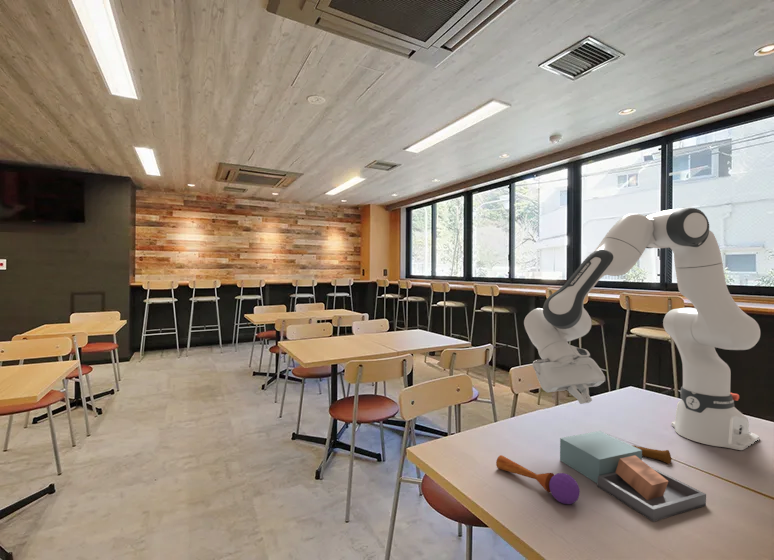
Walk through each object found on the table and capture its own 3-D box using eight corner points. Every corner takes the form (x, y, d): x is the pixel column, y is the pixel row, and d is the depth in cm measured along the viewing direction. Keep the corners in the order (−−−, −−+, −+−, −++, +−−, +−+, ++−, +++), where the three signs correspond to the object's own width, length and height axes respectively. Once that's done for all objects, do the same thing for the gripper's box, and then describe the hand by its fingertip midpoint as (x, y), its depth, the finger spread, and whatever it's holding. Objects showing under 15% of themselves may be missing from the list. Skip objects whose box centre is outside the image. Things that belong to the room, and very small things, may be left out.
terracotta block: (635, 455, 89) (668, 481, 82) (630, 469, 90) (663, 495, 83) (619, 458, 88) (652, 485, 80) (615, 472, 89) (647, 500, 82)
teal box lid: (599, 452, 104) (600, 430, 104) (641, 474, 93) (642, 450, 93) (560, 460, 100) (560, 438, 99) (598, 484, 88) (599, 459, 88)
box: (646, 474, 93) (646, 464, 93) (705, 505, 80) (706, 494, 80) (597, 486, 87) (597, 476, 87) (653, 521, 75) (653, 509, 75)
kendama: (508, 449, 98) (585, 477, 82) (506, 473, 97) (584, 506, 81) (493, 450, 95) (570, 480, 78) (492, 475, 94) (569, 511, 78)
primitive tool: (588, 444, 110) (588, 433, 109) (592, 438, 114) (593, 427, 114) (670, 467, 97) (671, 454, 97) (672, 459, 101) (672, 446, 101)
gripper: (535, 354, 103) (562, 401, 94) (591, 349, 110) (621, 392, 101) (524, 366, 108) (549, 412, 99) (579, 361, 114) (606, 403, 106)
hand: (586, 402), depth 100 cm, fingers closed
